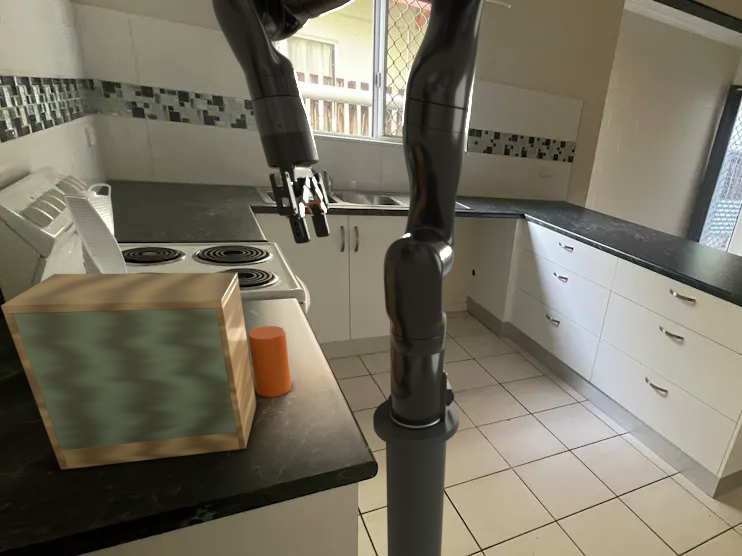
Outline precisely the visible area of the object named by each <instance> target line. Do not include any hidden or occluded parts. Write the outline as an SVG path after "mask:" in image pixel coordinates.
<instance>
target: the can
mask: <svg viewBox="0 0 742 556" xmlns="http://www.w3.org/2000/svg"><path fill="white" fill-rule="evenodd" d="M247 335H248V342H249V349H250V355H251V356H250V358H251V365H252V369H253V371H252V372H253V377H254V378H253V379H254V385H255V391H256V393H257V394H258V395H259V396H262V397H265V398H274V397H279V396H281V395H284V394H287V393H288V392H289V391H290V390H291V389H292V380H291V371H290V362H289V361H290V360H289V351H288V343H287V336H286V330H285V328H283V327H281V326H276V325H265V326H264V325H263V326H259V327H255V328H253V329H251V330H250V331H249V332H248V334H247Z"/></svg>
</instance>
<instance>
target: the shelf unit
mask: <svg viewBox="0 0 742 556" xmlns="http://www.w3.org/2000/svg"><path fill="white" fill-rule="evenodd" d="M0 307H1V310H2V312H3V316H4V318H5V321H6V325H7V326H8V327H7V328H8V329H9V332H10V335H11V338H12V340H13V343H14V346H15V349H16V351H17V354H18V357H19V359H20V362H21V365H22V368H23V370H24V373H25V376H26V379H27V381H28V384H29V387H30V389H31V392H32V395H33V397H34V398H33V399H34V401H35V403H36V407H37V408H38V411H39V414H40V417H41V419H42V422H43V425H44V427H45V430H46V433H47V435H48V438H49V441H50V444H51V446H52V450H53V452H54V454H55V458H56V460H57V463H58V466H59V469H60V470H68V469H71V470H72V469H78V468H79V469H80V468H88V467H95V466H104V465H105V466H107V465H113V464H121V463H130V462H140V461H148V460H157V459H158V460H159V459H166V458H174V457H175V458H176V457H183V456H192V455H199V454H200V455H201V454H209V453H217V452H227V451H236V450H243V449H247V444H248V440H249V437H250V432H251V429H252V425H253V420H254V416H255V412H256V408H257V400H256V399H257V398H256V392H255V391H256V390H255V383H254V378H253V377H254V376H253V371H252V363H251V356H250V351H249V344H248V337H247V331H246V323H245V317H244V309H243V303H242V295H241V289H240V281H239V275H238V272H183V273H182V272H164V273H163V272H159V273H158V272H156V273H155V272H151V273H150V272H148V273H147V272H146V273H145V272H144V273H143V272H141V273H140V272H139V273H128V272H127V274H86V273H53V274H51V275H50V276H48V277H47V278H45V279H44V280H41V281H40V282H39V283H37V284H34V285H33V286H32V287H30V288H28V289H27V290H24V291H23V292H22V293H20V294H17V296H15V297H13V298H11V299H10V300H9V301H6V302H5V303H3V304H1V305H0Z"/></svg>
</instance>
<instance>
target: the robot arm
mask: <svg viewBox="0 0 742 556" xmlns="http://www.w3.org/2000/svg"><path fill="white" fill-rule="evenodd" d="M354 1H355V0H211V6H212V10H213V14H214V17H215V19H216V21H217V25H218V26H219V28H220V30H221V32H222V34H223V36H224V38H225V40H226V42H227V44H228V46H229V48H230V49H231V53H233V56H234V58H235V59H236V61H237V63H238V64H239V66H240V68H241V69H242V72H243V75H244V78H245V82H246V86H247V89H248V93H249V97H250V100H251V104H252V109H253V116H254V122H255V124H256V128H257V132H258V135H259V138H260V142H261V146H262V150H263V153H264V158H265V160H266V165H267V167H268V168H270V169H272V170H278V171H279V172H274V173H269V175H268V177H269V181H270V185H271V188H272V193H273V197H274V201H275V204H276V208H277V212H278V215H279V216H280V217H285V219H286V220H288V221H289V226H290V228H291V229H290V230H291V232H292V236H293V240H294V242H295V244H297V245H301V244H307V243H310V242H311V235H310V232H309V228H308V225H307V224H308V223H307V220H306V217H305V207H306V208H307V210H308V212H309V213H310V215H311V221H312V225H313V228H314V233H315V236H316V238H320V239H321V238H326V237H327V238H328V237H329V236H331V231H330V227H329V224H328V220H327V215H326V214H327V210H329V209H330V203H329V199H328V197H327V196H328V195H327V191H326V188H325V184H324V181H323V177H322V174H321V173H320V172H312V168H311V166H313V165H316V164H319V161H320V159H319V154H318V151H317V146H316V143H315V138H314V134H313V130H312V126H311V122H310V118H309V114H308V112H307V108H306V107H305V104H304V100H303V98H302V93H301V92H302V91H301V89H300V84H299V81H298V76H297V73H296V70H295V67H294V65H293V62H292V61H291V60H290V59H289V58H288V57H287V56H285V55H284V54H282V53H281V52H280V51H278V49H277V48H276V47H275V46H274V44H273V42H280V41H281V42H282V41H284V40H287V39H289V38H291V37H293V36H294V35H295V34H296V33H298V32H299V31H301V29H303V28H304V27H305V26H306V25H308V23H309V22H310V21H311V20H313V19H316V18H319V17H322V16H325V15H327V14H329V13H332V12H334V11H337V10H340V9H342V8H344V7H346V6H347V5H350V4H351V3H352V2H354ZM485 5H486V0H431V1H430V11H429V17H428V22H427V26H426V28H425V29H426V30H425V32H424V35H423V38H422V41H421V43H420V45H419V48H418V49H417V52H416V54H415V56H414V58H413V61H412V64H411V66H410V69H409V71H408V76H407V78H406V84H405V89H404V98H403V112H402V113H403V114H402V122H401V123H402V124H401V126H402V127H401V128H402V129H401V135H402V136H401V137H402V149H403V155H404V160H405V161H404V162H405V166H406V170H407V171H406V172H407V176H408V182H409V206H408V211H407V212H408V213H407V219H406V220H407V221H406V224H405V225H406V226H405V230H404V233H403V235H402V236H400V237H398V238H397V239H395V240H394V241H393V242H392V243H390V245H389V246H388V248H387V249H386V252H385V254H384V258H383V292H384V293H383V294H384V308H385V313H386V316H387V318H388V321H389V352H390V353H389V369H390V370H389V373H390V375H389V376H390V381H389V382H390V394H389V396H388V397H387V400H388V403H389V402H390V400H391V411H390V418H391V420H392V422H393V423H394V424H396V425H397V426H399V427H401V428H405V429H410V430H422V429H427V428H431V427H433V426H435V425H437V424H438V423H440V422H445V416H446V406H450V404H451V403H453V402H454V400H455V393H454V392H453V389H452V386H451V384H450V382H449V378H448V373H447V372H446V369H445V368H446V341H447V325H448V324H447V323H448V322H447V321H448V319H447V314H446V312H445V310H443V282H444V280H445V279H446V278H447V276H448V275H449V274H450V272H451V270H452V268H453V264H454V260H455V259H454V258H455V222H456V221H455V220H456V205H457V198H458V190H459V187H460V182H461V177H462V171H463V166H464V159H465V153H466V147H467V141H468V135H469V127H470V121H471V110H472V105H473V103H472V102H473V92H474V84H475V78H476V77H475V76H476V70H477V69H476V68H477V59H478V50H479V40H480V39H479V38H480V30H481V25H482V20H483V14H484V9H485Z"/></svg>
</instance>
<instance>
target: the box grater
mask: <svg viewBox="0 0 742 556" xmlns="http://www.w3.org/2000/svg"><path fill="white" fill-rule="evenodd" d="M101 186H102V187H108V193H107V195H106V194H105V195H103V194H97V192H96V191H95V190H93V188H95V187H101ZM111 193H112V186H111V185H110V184H108V183H105V182H104V183H103V182H96V183H93V184H91V185H90V186H89V187H88V188H87V190H79V191H77V193H76V192H75V193H74V192H66V193H64V194H63V199H64V202H65V205H66V208H67V211H68V212H69V216H70V217H71V220H72V223H73V225H74V228H75V230H76V233H77V234H78V237H79V238H80V240H81V243H80V244H81V251H82V255H81V256H82V259H83V266H84V270H85V274H127V273H128V269H127V264H126V261H125V258H124V255H123V253H122V250H121V247H120V245H119V243H118V241H117V239H116V237H115V226H114V225H115V224H114V223H115V222H114V213H113V204H112V197H111V195H112V194H111Z"/></svg>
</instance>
